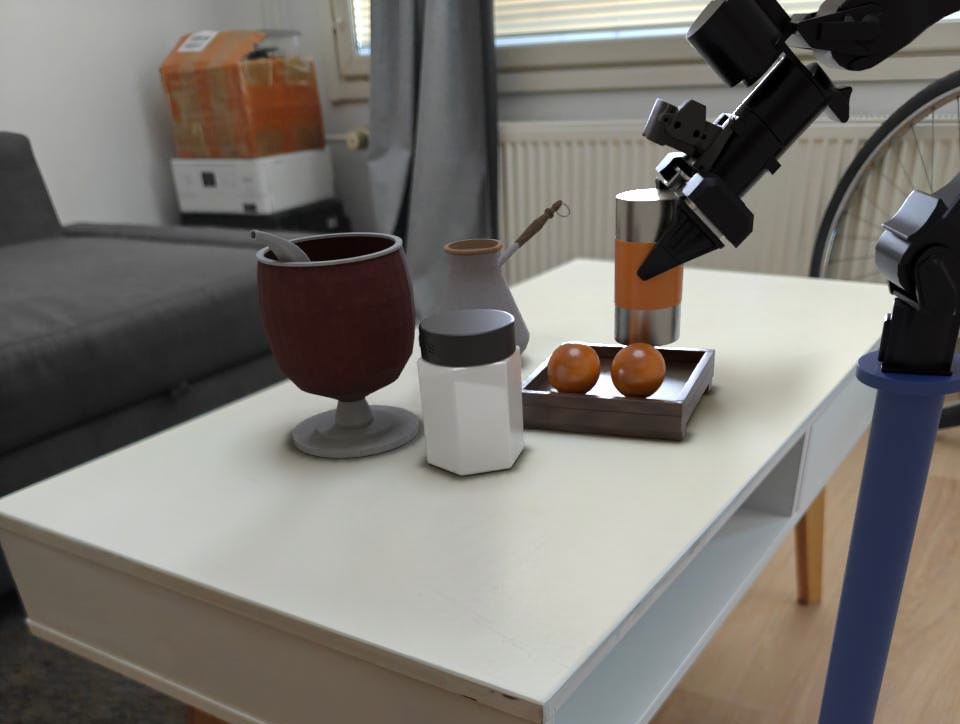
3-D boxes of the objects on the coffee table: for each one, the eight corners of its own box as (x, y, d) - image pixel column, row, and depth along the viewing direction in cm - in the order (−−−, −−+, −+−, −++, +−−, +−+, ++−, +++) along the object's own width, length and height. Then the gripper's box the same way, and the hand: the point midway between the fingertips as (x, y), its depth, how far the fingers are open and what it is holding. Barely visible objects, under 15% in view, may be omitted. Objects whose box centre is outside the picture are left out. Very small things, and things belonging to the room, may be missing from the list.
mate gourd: (350, 400, 98) (320, 194, 87) (455, 420, 91) (437, 199, 80) (243, 451, 88) (193, 226, 77) (352, 478, 81) (314, 234, 70)
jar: (449, 436, 88) (437, 306, 81) (531, 440, 86) (527, 307, 79) (416, 474, 81) (401, 335, 74) (505, 479, 79) (498, 337, 72)
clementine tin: (654, 324, 95) (659, 186, 88) (693, 338, 90) (702, 193, 83) (601, 336, 93) (601, 195, 86) (638, 351, 88) (642, 203, 81)
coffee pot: (483, 386, 99) (473, 237, 91) (410, 369, 106) (395, 228, 98) (603, 337, 112) (604, 201, 103) (531, 324, 118) (526, 196, 110)
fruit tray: (712, 385, 95) (718, 310, 91) (680, 443, 83) (685, 360, 79) (564, 376, 100) (563, 305, 96) (513, 429, 88) (509, 351, 84)
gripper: (682, 54, 86) (566, 193, 93) (726, 62, 71) (583, 227, 77) (759, 143, 90) (642, 269, 97) (816, 168, 75) (673, 316, 81)
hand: (634, 269), depth 88 cm, fingers closed on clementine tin, 6 cm apart
